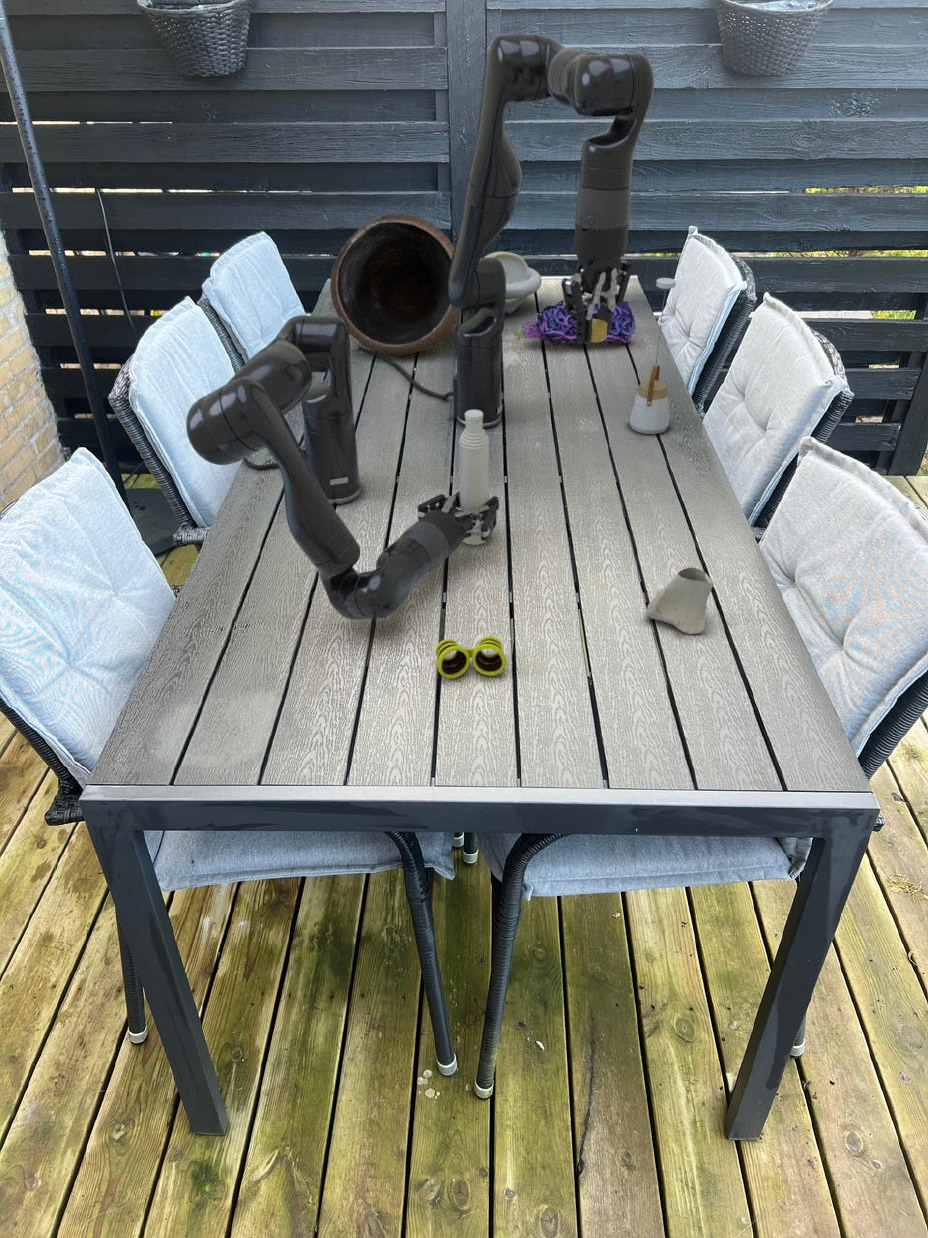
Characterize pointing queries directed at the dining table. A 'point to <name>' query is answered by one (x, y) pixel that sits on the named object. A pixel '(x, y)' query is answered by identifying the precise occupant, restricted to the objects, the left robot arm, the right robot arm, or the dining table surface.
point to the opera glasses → (462, 658)
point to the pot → (395, 285)
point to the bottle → (473, 467)
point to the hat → (517, 279)
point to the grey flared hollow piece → (683, 601)
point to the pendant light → (652, 393)
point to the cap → (598, 330)
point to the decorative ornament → (564, 326)
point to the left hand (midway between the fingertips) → (482, 497)
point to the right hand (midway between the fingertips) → (593, 337)
